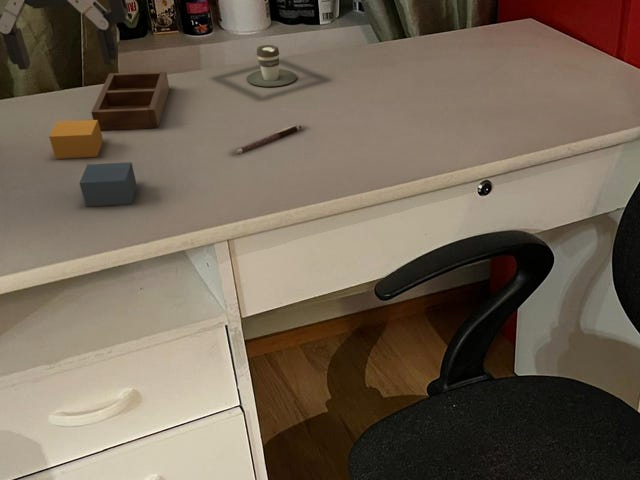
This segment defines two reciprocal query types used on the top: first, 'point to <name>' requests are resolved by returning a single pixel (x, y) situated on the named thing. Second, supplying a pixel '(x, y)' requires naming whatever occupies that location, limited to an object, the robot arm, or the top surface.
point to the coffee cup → (270, 69)
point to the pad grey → (108, 184)
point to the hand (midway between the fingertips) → (67, 65)
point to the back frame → (131, 100)
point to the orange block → (76, 139)
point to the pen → (270, 138)
